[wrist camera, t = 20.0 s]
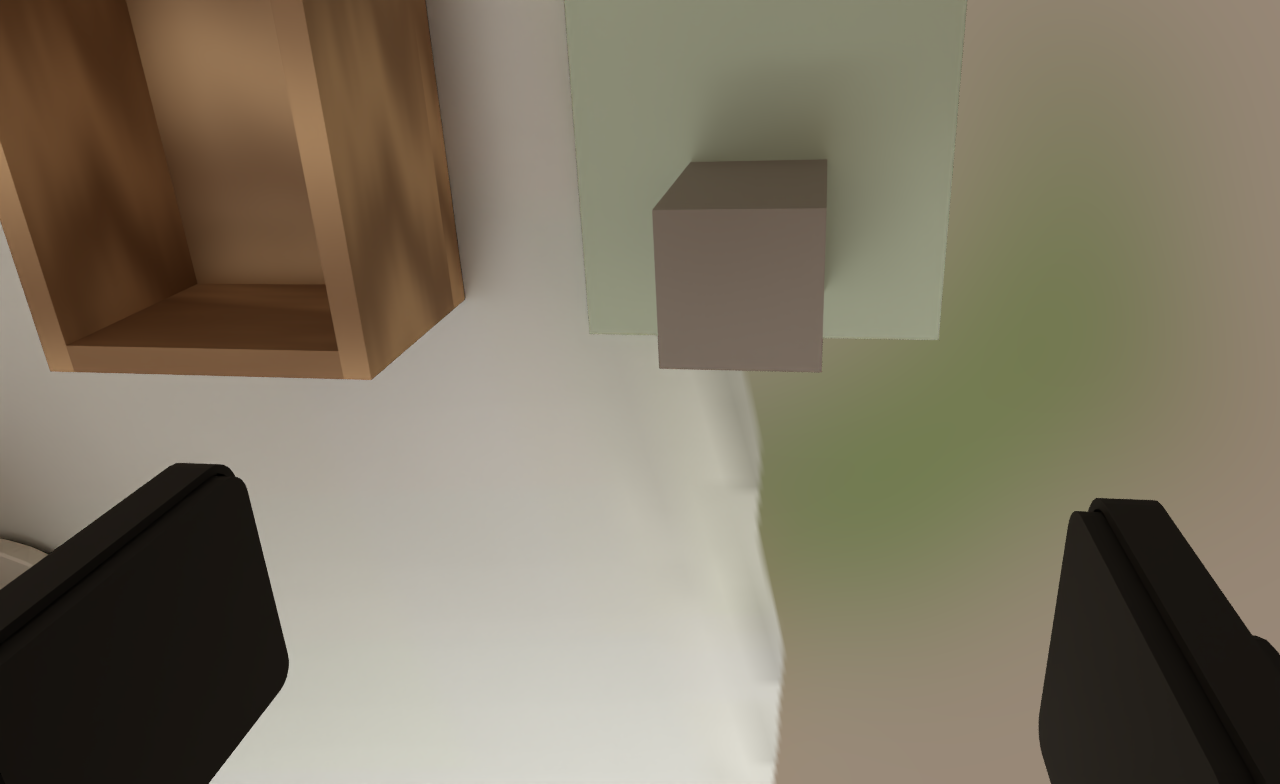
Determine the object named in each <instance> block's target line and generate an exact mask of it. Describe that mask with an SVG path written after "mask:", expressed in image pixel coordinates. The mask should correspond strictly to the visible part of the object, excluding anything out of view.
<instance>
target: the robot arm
mask: <svg viewBox="0 0 1280 784" xmlns="http://www.w3.org/2000/svg"><path fill="white" fill-rule="evenodd" d="M288 668H289V659H288V653H287V649H286V645H285V641H284V637H283V633H282V629H281V625H280V620H279V616H278V612H277V608H276V604H275V600H274V596H273V592H272V588H271V584H270V580H269V576H268V572H267V568H266V564H265V560H264V556H263V551H262V547H261V543H260V539H259V535H258V531H257V527H256V523H255V519H254V515H253V511H252V507H251V503H250V499H249V495H248V491H247V488H246V485H245V483H244V482H243V481H242V480H241V479H240V478H238V477H235V475H234V473H233V472H232V471H231V470H230V468H228V467H227V466H225V465H220V464H194V463H176V464H174V465H172V466H169V467H168V468H167V469H165V470H164V471H162V472H161V473H160V474H158V475H157V476H156V477H154V478H153V479H151V480H150V481H149V482H147V483H146V484H145V485H143V486H142V487H140V488H139V489H138V490H136V491H135V492H134V493H132V494H131V495H129V496H128V497H127V498H125V499H124V500H123V501H121V502H120V503H118V504H117V505H116V506H114V507H113V508H112V509H110V510H109V511H108V512H106V513H105V514H103V515H102V516H101V517H99V518H98V519H97V520H95V521H94V522H92V523H91V524H90V525H88V526H87V527H86V528H84V529H83V530H81V531H80V532H79V533H77V534H76V535H75V536H73V537H72V538H70V539H69V540H68V541H66V542H65V543H64V544H62V545H61V546H59V547H58V548H57V549H55V550H54V551H53V552H51V553H50V554H47V553H44V552H42V551H40V550H38V549H35V548H33V547H30V546H27V545H23V544H20V543H16V542H13V541H9V540H6V539H0V784H209V782H210V781H211V780H212V778H213V777H214V776H215V775H216V773H217V772H218V771H219V769H220V768H221V767H222V765H223V764H224V763H225V762H226V760H227V759H228V758H229V756H230V755H231V754H232V752H233V751H234V750H235V749H236V747H237V746H238V745H239V743H240V742H241V741H242V739H243V738H244V737H245V736H246V734H247V733H248V732H249V730H250V729H251V728H252V726H253V725H254V724H255V722H256V721H257V720H258V719H259V717H260V716H261V715H262V713H263V712H264V711H265V709H266V708H267V707H268V706H269V704H270V703H271V702H272V700H273V699H274V698H275V696H276V695H277V694H278V693H279V691H280V690H281V688H282V687H283V685H284V683H285V680H286V678H287V673H288ZM1039 740H1040V747H1041V751H1042V755H1043V759H1044V762H1045V765H1046V769H1047V772H1048V775H1049V778H1050V782H1051V784H1280V655H1279V653H1278V652H1277V651H1276V650H1275V648H1274V647H1273V646H1272V645H1271V644H1270V643H1269V642H1268V641H1267V640H1265V639H1263V638H1260V637H1258V636H1253V635H1252V634H1251V633H1250V632H1249V630H1248V629H1247V627H1246V626H1245V624H1244V623H1243V622H1242V620H1241V619H1240V617H1239V616H1238V614H1237V613H1236V611H1235V610H1234V608H1233V607H1232V606H1231V604H1230V603H1229V601H1228V600H1227V598H1226V597H1225V595H1224V594H1223V593H1222V591H1221V590H1220V588H1219V587H1218V585H1217V584H1216V582H1215V581H1214V580H1213V578H1212V577H1211V575H1210V574H1209V572H1208V571H1207V570H1206V568H1205V567H1204V565H1203V564H1202V562H1201V561H1200V559H1199V558H1198V557H1197V555H1196V554H1195V552H1194V551H1193V549H1192V548H1191V547H1190V545H1189V544H1188V542H1187V541H1186V539H1185V538H1184V537H1183V535H1182V533H1181V532H1180V531H1179V529H1178V528H1177V526H1176V525H1175V523H1174V522H1173V520H1172V519H1171V518H1170V516H1169V515H1168V513H1167V512H1166V510H1165V509H1164V507H1163V506H1162V505H1161V504H1160V503H1159V502H1158V501H1153V500H1133V499H1107V498H1096V499H1095V500H1093V501H1092V503H1091V505H1090V507H1089V510H1088V512H1082V511H1074V512H1073V513H1072V515H1071V517H1070V520H1069V524H1068V530H1067V536H1066V543H1065V550H1064V556H1063V562H1062V569H1061V575H1060V582H1059V589H1058V595H1057V603H1056V608H1055V615H1054V621H1053V629H1052V635H1051V641H1050V648H1049V654H1048V661H1047V668H1046V674H1045V680H1044V687H1043V694H1042V700H1041V706H1040V713H1039Z"/></svg>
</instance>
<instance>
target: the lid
mask: <svg viewBox="0 0 1280 784" xmlns="http://www.w3.org/2000/svg"><path fill="white" fill-rule="evenodd" d="M564 7H565V20H566V33H567V46H568V59H569V72H570V85H571V98H572V111H573V124H574V137H575V150H576V163H577V176H578V189H579V202H580V215H581V228H582V241H583V254H584V267H585V280H586V293H587V306H588V319H589V332H590V334H619V335H658V350H659V369H700V370H742V371H783V372H784V371H785V372H786V371H787V372H822V343H823V338H853V339H859V338H860V339H911V340H939V329H940V317H941V305H942V293H943V281H944V270H945V258H946V245H947V233H948V222H949V210H950V198H951V187H952V186H951V185H952V175H953V174H952V173H953V162H954V151H955V139H956V126H957V115H958V104H959V103H958V102H959V92H960V80H961V68H962V56H963V44H964V32H965V21H966V20H965V19H966V8H967V0H564Z"/></svg>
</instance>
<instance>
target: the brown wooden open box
mask: <svg viewBox="0 0 1280 784" xmlns="http://www.w3.org/2000/svg"><path fill="white" fill-rule="evenodd" d="M0 221H1V224H2V227H3V230H4V233H5V236H6V239H7V242H8V245H9V248H10V251H11V254H12V257H13V260H14V263H15V266H16V269H17V272H18V275H19V278H20V281H21V284H22V287H23V290H24V293H25V296H26V299H27V302H28V305H29V308H30V311H31V314H32V317H33V320H34V323H35V326H36V329H37V332H38V335H39V338H40V342H41V345H42V348H43V351H44V354H45V357H46V360H47V363H48V366H49V369H50V371H59V372H97V373H135V374H173V375H210V376H248V377H286V378H324V379H361V380H372V379H373V378H374V377H375V376H376V375H378V374H379V373H380V372H381V371H382V370H383V369H385V368H386V367H387V366H388V365H389V364H390V363H392V362H393V361H394V360H395V359H396V358H397V357H399V356H400V355H401V354H402V353H403V352H404V351H405V350H407V349H408V348H409V347H410V346H411V345H412V344H414V343H415V342H416V341H417V340H418V339H419V338H421V337H422V336H423V335H424V334H425V333H426V332H428V331H429V330H430V329H431V328H432V327H433V326H435V325H436V324H437V323H438V322H439V321H440V320H442V319H443V318H444V317H445V316H446V315H447V314H449V313H450V312H451V311H452V310H453V309H454V308H456V307H457V306H458V305H459V304H460V303H461V302H463V301H464V300H465V295H464V288H463V280H462V273H461V265H460V258H459V250H458V243H457V235H456V228H455V220H454V213H453V205H452V198H451V190H450V183H449V175H448V168H447V160H446V153H445V145H444V138H443V130H442V123H441V115H440V108H439V100H438V93H437V85H436V78H435V70H434V63H433V55H432V48H431V40H430V33H429V25H428V18H427V10H426V3H425V0H0Z"/></svg>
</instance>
